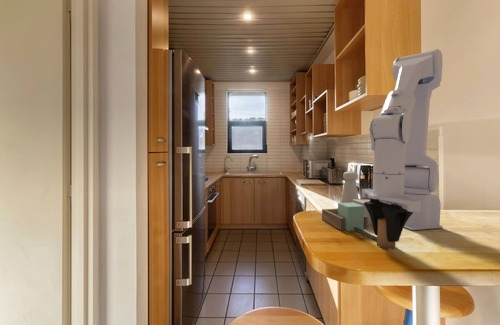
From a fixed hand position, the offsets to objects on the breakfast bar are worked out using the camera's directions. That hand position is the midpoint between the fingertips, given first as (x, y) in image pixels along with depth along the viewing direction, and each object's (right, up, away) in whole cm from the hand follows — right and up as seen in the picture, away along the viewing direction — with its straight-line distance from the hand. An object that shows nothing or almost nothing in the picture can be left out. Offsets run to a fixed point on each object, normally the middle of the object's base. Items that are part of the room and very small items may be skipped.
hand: (386, 237), depth 55 cm
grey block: (+3, -1, +18) cm, 18 cm away
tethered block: (-1, -1, +7) cm, 7 cm away
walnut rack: (0, -1, +16) cm, 16 cm away
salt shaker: (+3, 0, +28) cm, 28 cm away
